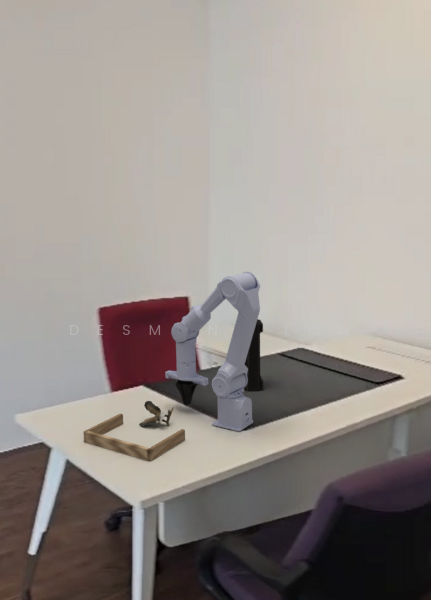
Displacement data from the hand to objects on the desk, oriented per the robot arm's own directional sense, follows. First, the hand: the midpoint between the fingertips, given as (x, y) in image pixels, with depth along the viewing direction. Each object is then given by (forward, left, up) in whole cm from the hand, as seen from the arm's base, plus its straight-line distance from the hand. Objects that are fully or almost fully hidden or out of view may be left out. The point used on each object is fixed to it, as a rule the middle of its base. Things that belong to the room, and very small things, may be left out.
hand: (187, 404), depth 198 cm
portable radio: (-6, -29, -3) cm, 30 cm away
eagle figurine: (+2, +13, -3) cm, 13 cm away
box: (0, +25, -2) cm, 25 cm away
